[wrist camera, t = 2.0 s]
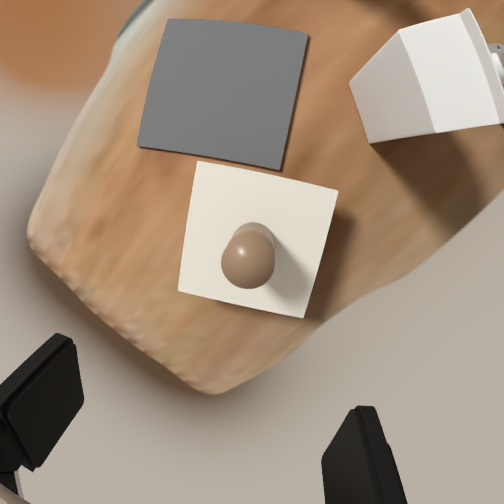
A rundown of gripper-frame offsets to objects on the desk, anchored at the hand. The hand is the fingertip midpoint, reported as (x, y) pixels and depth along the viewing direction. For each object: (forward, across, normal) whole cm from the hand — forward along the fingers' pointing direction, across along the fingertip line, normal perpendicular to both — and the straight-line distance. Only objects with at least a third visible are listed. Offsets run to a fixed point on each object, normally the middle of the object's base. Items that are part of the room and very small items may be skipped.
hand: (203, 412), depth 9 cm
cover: (+22, 0, 0) cm, 22 cm away
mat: (+26, +7, -15) cm, 30 cm away
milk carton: (+26, -11, -17) cm, 33 cm away
